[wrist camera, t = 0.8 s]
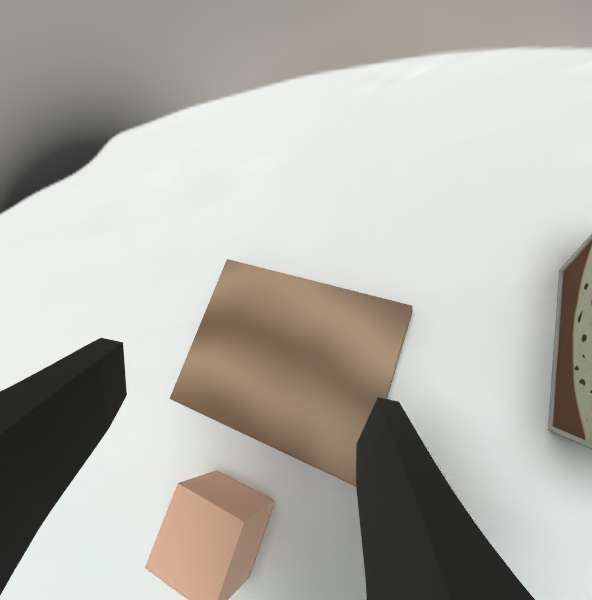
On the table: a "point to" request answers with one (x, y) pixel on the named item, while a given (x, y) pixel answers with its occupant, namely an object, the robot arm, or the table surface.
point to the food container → (573, 350)
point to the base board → (293, 363)
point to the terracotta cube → (210, 537)
